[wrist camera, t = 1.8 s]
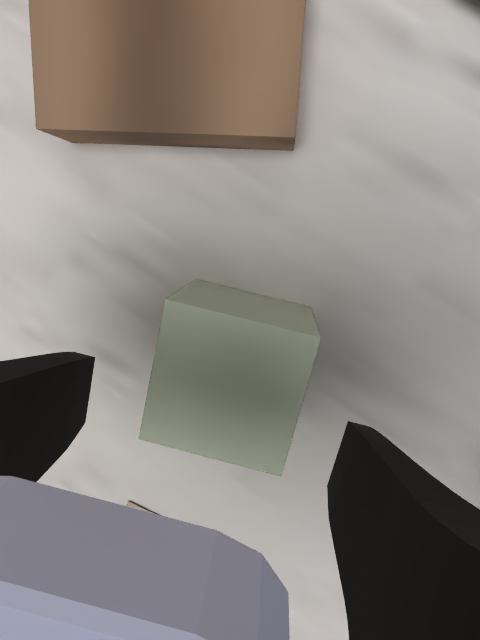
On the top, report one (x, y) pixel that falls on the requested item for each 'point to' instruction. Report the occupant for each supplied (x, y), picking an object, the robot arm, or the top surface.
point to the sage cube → (230, 375)
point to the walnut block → (168, 71)
